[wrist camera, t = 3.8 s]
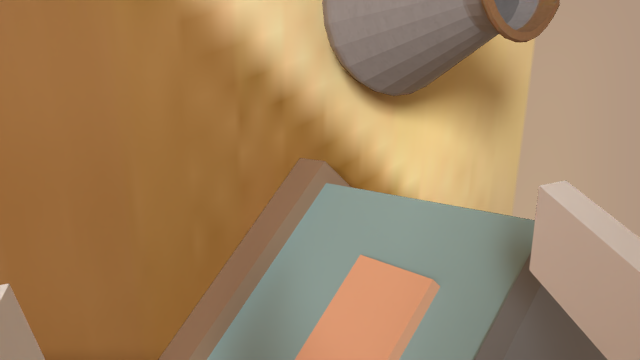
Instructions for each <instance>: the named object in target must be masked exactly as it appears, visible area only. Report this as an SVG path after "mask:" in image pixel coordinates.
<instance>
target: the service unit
mask: <svg viewBox="0 0 640 360" xmlns="http://www.w3.org/2000/svg"><path fill="white" fill-rule="evenodd" d="M534 224H535V220H530V219H525V218H518V217H513V216H508V215H502V214H497V213H491V212H485V211H480V210H474V209H469V208H463V207H458V206H452V205H446V204H441V203H435V202H430V201H424V200H418V199H413V198H407V197H402V196H396V195H390V194H385V193H379V192H374V191H368V190H363V189H357V188H352V187H351V186H350V185H349V184H347V183H346V182H345V181H344V180H343V179H342V178H341V177H340V176H339V175H338V174H337V173H336V172H335V171H334V170H333V169H332V168H331V167H330V166H329V165H328V164H327V163H326V162H325V161H319V160H311V159H302V158H300V159H299V161H298V162H297V163H296V165H295V166H294V168H293V169H292V170H291V172H290V173H289V175H288V176H287V178H286V179H285V180H284V182H283V183H282V185H281V186H280V188H279V189H278V190H277V192H276V193H275V195H274V196H273V197H272V199H271V200H270V202H269V203H268V205H267V206H266V207H265V209H264V210H263V212H262V213H261V215H260V216H259V217H258V219H257V220H256V222H255V223H254V224H253V226H252V227H251V229H250V230H249V232H248V233H247V234H246V236H245V237H244V239H243V240H242V242H241V243H240V244H239V246H238V247H237V249H236V250H235V251H234V253H233V254H232V256H231V257H230V259H229V260H228V261H227V263H226V264H225V266H224V267H223V269H222V270H221V271H220V273H219V274H218V276H217V277H216V278H215V280H214V281H213V283H212V284H211V286H210V287H209V288H208V290H207V291H206V293H205V294H204V296H203V297H202V298H201V300H200V301H199V303H198V304H197V306H196V307H195V308H194V310H193V311H192V313H191V314H190V315H189V317H188V318H187V320H186V321H185V323H184V324H183V325H182V327H181V328H180V330H179V331H178V333H177V334H176V335H175V337H174V338H173V340H172V341H171V342H170V344H169V345H168V347H167V348H166V350H165V351H164V352H163V354H162V355H161V357H160V358H159V360H607V358H606V357H605V356H604V355H603V354H602V353H601V352H600V350H599V349H598V348H597V347H596V346H595V345H594V344H593V342H592V341H591V340H590V339H589V338H588V337H587V336H586V334H585V333H584V332H583V331H582V330H581V329H580V328H579V326H578V325H577V324H576V323H575V322H574V321H573V320H572V318H571V317H570V316H569V315H568V314H567V313H566V312H565V310H564V309H563V308H562V307H561V306H560V305H559V304H558V302H557V301H556V300H555V299H554V298H553V297H552V295H551V294H550V293H549V292H548V291H547V290H546V289H545V287H544V286H543V285H542V284H541V283H540V282H539V281H538V279H537V278H536V277H535V276H534V275H533V274H532V273H531V271H530V270H529V267H530V259H531V250H532V241H533V233H534Z"/></svg>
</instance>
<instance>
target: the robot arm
mask: <svg viewBox="0 0 640 360" xmlns="http://www.w3.org/2000/svg"><path fill="white" fill-rule="evenodd" d="M529 270H530V271H531V273H532V274H533V275H534V276H535V277H536V278H537V279H538V281H539V282H540V283H541V284H542V285H543V286H544V287H545V289H546V290H547V291H548V292H549V293H550V294H551V295H552V297H553V298H554V299H555V300H556V301H557V302H558V304H559V305H560V306H561V307H562V308H563V309H564V310H565V312H566V313H567V314H568V315H569V316H570V317H571V318H572V320H573V321H574V322H575V323H576V324H577V325H578V326H579V328H580V329H581V330H582V331H583V332H584V333H585V334H586V336H587V337H588V338H589V339H590V340H591V341H592V342H593V344H594V345H595V346H596V347H597V348H598V349H599V350H600V352H601V353H602V354H603V355H604V356H605V357H606V358H607V360H640V238H639V237H638V236H637V235H635V234H634V233H633V232H632V231H630V230H629V229H628V228H626V227H625V226H624V225H622V224H621V223H620V222H619V221H617V220H616V219H615V218H613V217H612V216H611V215H610V214H608V213H607V212H606V211H605V210H603V209H602V208H601V207H599V206H598V205H597V204H596V203H594V202H593V201H592V200H590V199H589V198H588V197H587V196H585V195H584V194H583V193H582V192H580V191H579V190H578V189H576V188H575V187H574V186H573V185H571V184H570V183H569V182H567V181H562V182H556V183H550V184H545V185H540V186H539V190H538V198H537V207H536V216H535V224H534V233H533V241H532V250H531V259H530V267H529ZM0 360H45V358H44V356H43V354H42V352H41V350H40V348H39V346H38V344H37V341H36V339H35V337H34V335H33V333H32V331H31V329H30V327H29V325H28V322H27V320H26V318H25V316H24V314H23V312H22V310H21V308H20V306H19V303H18V301H17V299H16V297H15V295H14V293H13V291H12V289H11V287H10V285H9V284H4V285H0Z"/></svg>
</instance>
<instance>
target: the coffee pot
mask: <svg viewBox="0 0 640 360" xmlns="http://www.w3.org/2000/svg"><path fill="white" fill-rule="evenodd" d="M322 4H323V15H324V25H325V29H326V32H327V35H328V39H329V42H330V45H331V47H332V49H333V51H334V53H335V54H336V56H337V58H338V60H339V62H340V63H341V65H342V66H343V67H344V68H345V69H346V70H347V71H348V72H349V73H350V74H351V75H352V77H353V78H355V79H356V80H357V81H359V82H360V83H362V84H364V85H365V86H367V87H369V88H370V89H372V90H373V91H376V92H380V93H384V94H388V95H393V96H396V95H404V94H411V93H413V92H415V91H417V90H419V89H421V88H423V87H425V86H427V85H428V84H430V83H431V82H433V81H434V80H435V79H437V78H438V77H439V76H441V75H442V74H444V73H445V72H446V71H448V70H449V69H451V68H452V67H453V66H455V65H456V64H457V63H459V62H460V61H462V60H463V59H464V58H466V57H467V56H469V55H470V54H471V53H473V52H474V51H475V50H477V49H478V48H480V47H481V46H482V45H484V44H485V43H487V42H488V41H489V40H491V39H492V38H493V37H495V36H496V35H498V34H501V35H502V36H503V37H504V38H506V39H509V40H512V41H514V42H527V41H529V40H531V39H533V38H535V37H537V36H538V35H540V33H541V32H542V31H543V30H544V29H545V28H546V27H547V26H548V24H549V23H550V21H551V20H552V18H553V17H554V15H555V13H556V11H557V9H558V7H559V0H323V2H322Z"/></svg>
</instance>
